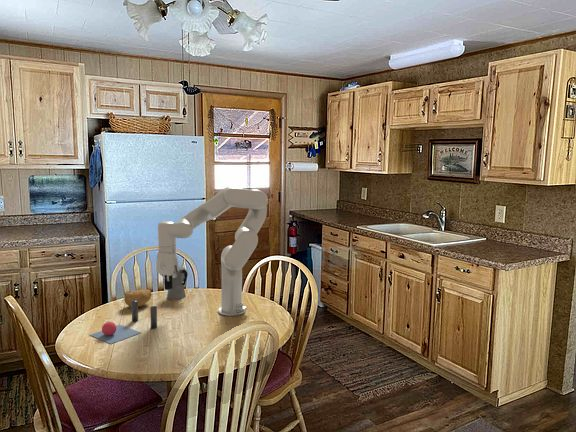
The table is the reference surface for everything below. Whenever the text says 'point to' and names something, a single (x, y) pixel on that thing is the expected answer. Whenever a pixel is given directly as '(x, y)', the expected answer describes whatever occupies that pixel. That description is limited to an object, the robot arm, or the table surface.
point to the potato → (138, 297)
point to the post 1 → (134, 310)
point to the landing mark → (116, 334)
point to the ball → (109, 328)
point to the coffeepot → (178, 285)
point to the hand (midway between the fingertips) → (168, 288)
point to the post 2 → (153, 316)
